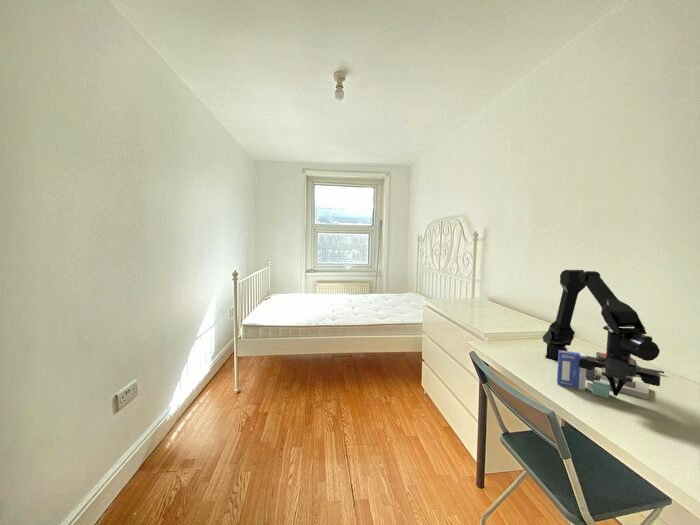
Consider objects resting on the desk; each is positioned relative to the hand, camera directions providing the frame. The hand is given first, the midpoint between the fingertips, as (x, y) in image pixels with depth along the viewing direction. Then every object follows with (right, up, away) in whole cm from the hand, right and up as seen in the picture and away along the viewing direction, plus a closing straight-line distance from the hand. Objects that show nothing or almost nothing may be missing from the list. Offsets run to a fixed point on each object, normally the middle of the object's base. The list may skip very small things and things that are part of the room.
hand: (615, 395), depth 94 cm
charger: (+3, 0, +15) cm, 16 cm away
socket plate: (+9, 0, +7) cm, 11 cm away
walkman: (-8, -1, +8) cm, 12 cm away
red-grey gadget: (+26, 0, +24) cm, 35 cm away
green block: (-3, -1, +3) cm, 4 cm away
